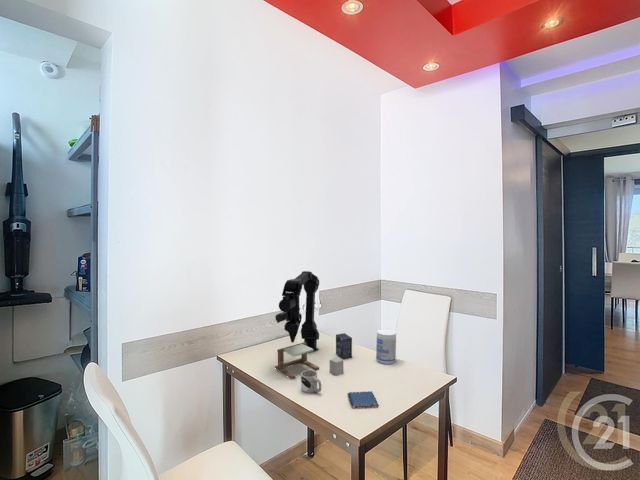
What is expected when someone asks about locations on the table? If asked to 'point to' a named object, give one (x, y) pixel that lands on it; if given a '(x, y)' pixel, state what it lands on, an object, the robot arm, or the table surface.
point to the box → (344, 346)
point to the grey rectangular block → (336, 366)
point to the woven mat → (362, 399)
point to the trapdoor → (298, 350)
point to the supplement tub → (386, 346)
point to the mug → (310, 382)
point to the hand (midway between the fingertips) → (293, 339)
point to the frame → (292, 362)
